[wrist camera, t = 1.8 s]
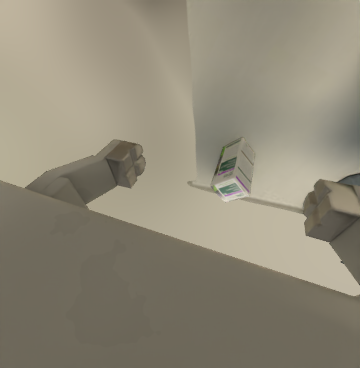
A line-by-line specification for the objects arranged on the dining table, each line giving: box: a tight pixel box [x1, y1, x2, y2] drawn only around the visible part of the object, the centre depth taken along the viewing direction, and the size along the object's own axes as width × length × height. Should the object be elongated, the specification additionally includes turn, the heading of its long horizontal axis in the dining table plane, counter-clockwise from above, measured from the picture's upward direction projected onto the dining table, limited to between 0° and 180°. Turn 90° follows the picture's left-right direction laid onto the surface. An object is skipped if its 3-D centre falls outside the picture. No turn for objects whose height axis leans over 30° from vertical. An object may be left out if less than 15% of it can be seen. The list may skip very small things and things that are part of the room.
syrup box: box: [211, 137, 255, 203], centre depth 41 cm, size 6×6×14 cm
